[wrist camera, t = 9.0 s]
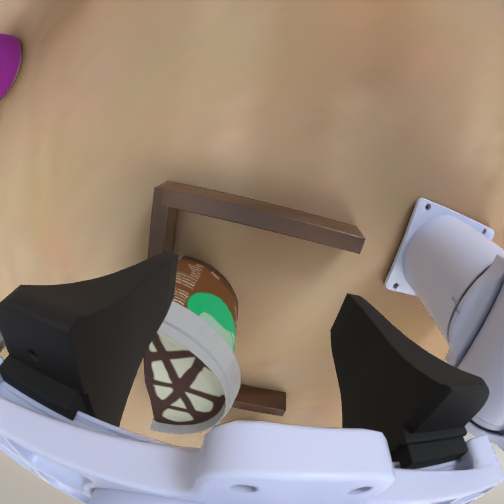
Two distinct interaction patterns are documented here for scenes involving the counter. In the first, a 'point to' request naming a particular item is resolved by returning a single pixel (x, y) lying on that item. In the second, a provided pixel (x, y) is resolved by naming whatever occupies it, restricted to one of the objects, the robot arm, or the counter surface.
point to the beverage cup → (1, 342)
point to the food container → (194, 353)
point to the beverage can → (9, 61)
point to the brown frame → (250, 214)
